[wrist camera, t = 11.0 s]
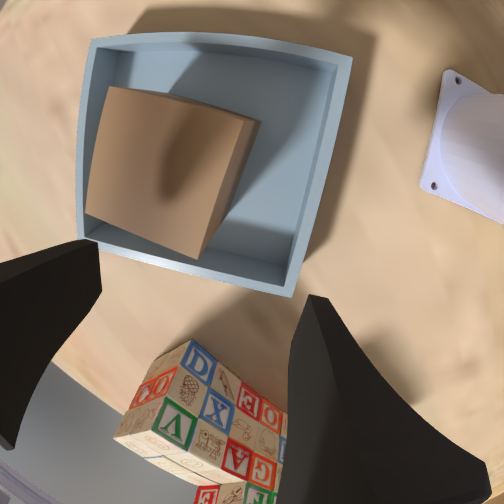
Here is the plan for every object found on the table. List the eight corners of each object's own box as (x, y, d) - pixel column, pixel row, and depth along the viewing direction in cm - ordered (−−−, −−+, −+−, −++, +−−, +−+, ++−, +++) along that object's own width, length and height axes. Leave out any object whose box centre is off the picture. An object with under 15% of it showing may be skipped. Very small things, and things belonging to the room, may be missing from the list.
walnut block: (262, 121, 15) (243, 121, 9) (227, 214, 17) (197, 259, 12) (167, 92, 15) (109, 85, 9) (142, 182, 17) (85, 212, 12)
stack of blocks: (151, 360, 25) (96, 467, 14) (192, 335, 23) (135, 468, 12) (286, 454, 30) (276, 537, 19) (329, 441, 28) (327, 533, 17)
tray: (343, 68, 13) (353, 57, 11) (292, 272, 19) (291, 298, 16) (117, 46, 14) (91, 39, 11) (102, 227, 20) (78, 243, 17)
